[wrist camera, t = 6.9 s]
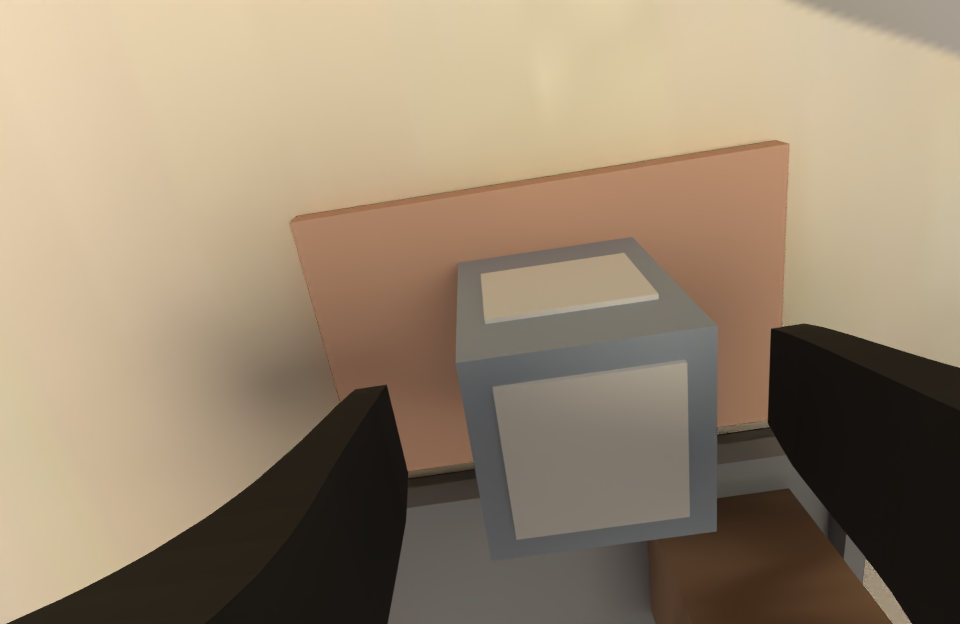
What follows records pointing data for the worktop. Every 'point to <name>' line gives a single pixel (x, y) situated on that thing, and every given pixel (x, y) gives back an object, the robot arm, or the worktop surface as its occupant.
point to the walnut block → (757, 570)
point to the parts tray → (563, 575)
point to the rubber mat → (534, 227)
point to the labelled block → (586, 399)
